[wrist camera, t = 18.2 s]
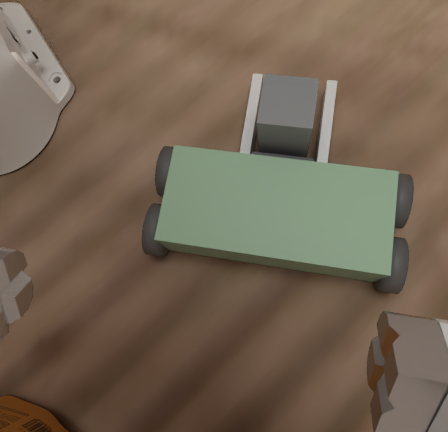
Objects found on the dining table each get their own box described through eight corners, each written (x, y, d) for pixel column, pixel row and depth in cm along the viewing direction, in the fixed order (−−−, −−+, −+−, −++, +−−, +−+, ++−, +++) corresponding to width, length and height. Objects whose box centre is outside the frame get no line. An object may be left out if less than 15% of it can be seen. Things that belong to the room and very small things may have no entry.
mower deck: (153, 257, 42) (134, 247, 36) (189, 83, 46) (178, 49, 41) (389, 295, 39) (410, 291, 33) (404, 103, 43) (425, 69, 37)
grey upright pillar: (259, 166, 43) (256, 122, 33) (266, 127, 44) (264, 73, 34) (303, 171, 42) (312, 128, 33) (308, 131, 43) (319, 78, 34)
